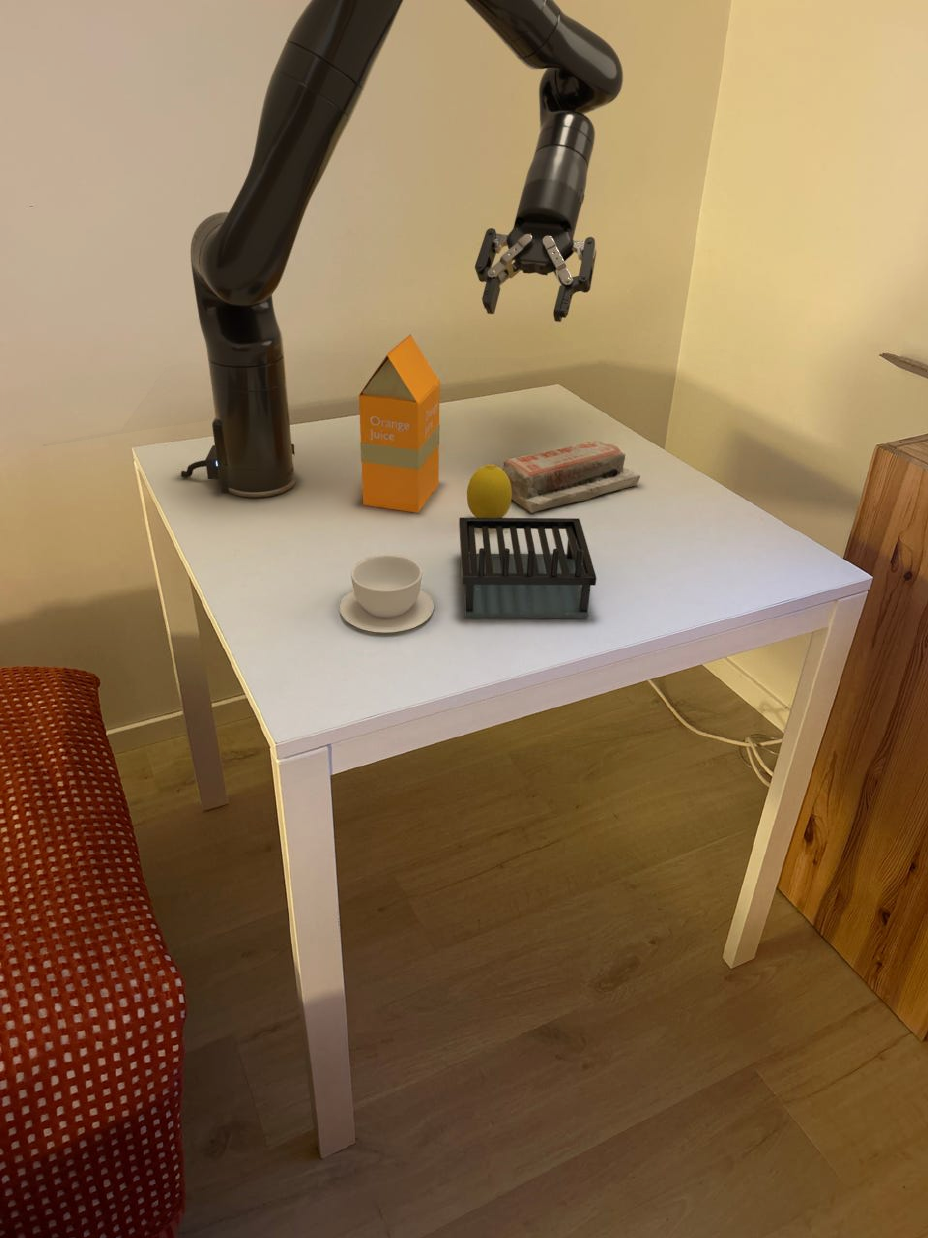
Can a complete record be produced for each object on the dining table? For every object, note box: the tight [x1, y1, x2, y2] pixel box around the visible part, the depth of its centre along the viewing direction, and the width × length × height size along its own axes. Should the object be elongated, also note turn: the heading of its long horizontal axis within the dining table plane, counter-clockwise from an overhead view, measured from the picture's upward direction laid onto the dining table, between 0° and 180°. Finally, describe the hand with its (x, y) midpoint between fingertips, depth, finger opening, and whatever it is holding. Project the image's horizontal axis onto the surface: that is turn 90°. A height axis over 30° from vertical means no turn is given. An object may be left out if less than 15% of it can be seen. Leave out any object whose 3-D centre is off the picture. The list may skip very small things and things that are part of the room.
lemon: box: [466, 463, 512, 518], centre depth 114 cm, size 6×6×8 cm
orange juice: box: [358, 334, 441, 514], centre depth 117 cm, size 8×9×20 cm
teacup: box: [339, 554, 435, 633], centre depth 98 cm, size 10×10×5 cm
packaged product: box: [501, 441, 641, 513], centre depth 124 cm, size 18×5×10 cm
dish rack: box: [458, 517, 597, 619], centre depth 101 cm, size 14×13×8 cm
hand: (522, 314), depth 112 cm, fingers open, 8 cm apart
